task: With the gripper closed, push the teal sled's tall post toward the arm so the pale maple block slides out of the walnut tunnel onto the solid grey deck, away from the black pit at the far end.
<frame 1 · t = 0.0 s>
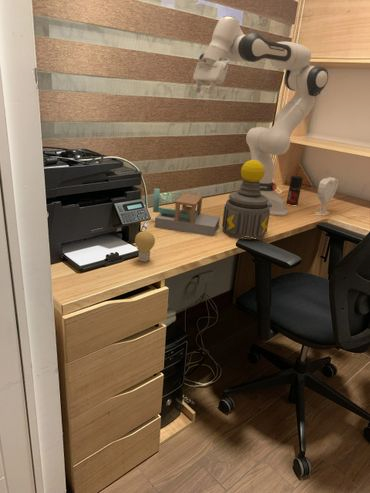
hand: (202, 93, 156), 52 cm above the table, tool tilted 20°, fingers open, 8 cm apart
tunnel deck: (187, 226, 159), on the table
toy power generator: (243, 233, 158), on the table
deodorant: (291, 204, 205), on the table
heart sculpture: (322, 213, 194), on the table
light bulb: (144, 260, 125), on the table
sled: (175, 203, 157), point 9 cm above the table, slide at 0.0 cm
maple block: (187, 217, 158), point 4 cm above the table, touching tunnel deck
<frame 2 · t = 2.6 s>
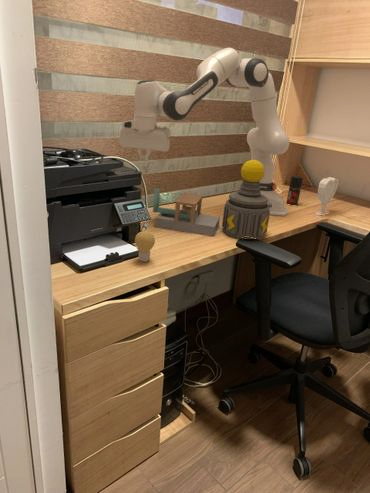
hand: (143, 160, 153), 25 cm above the table, tool pointing down, fingers closed
nothing on the table moved.
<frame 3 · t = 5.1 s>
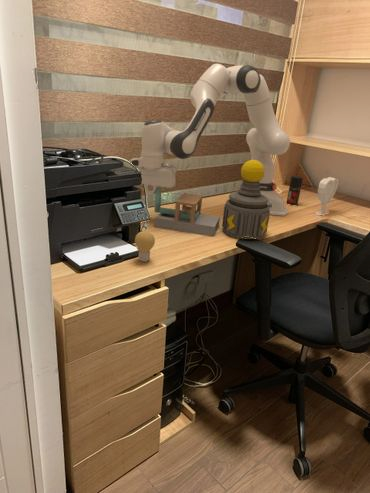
hand: (150, 195, 158), 11 cm above the table, tool pointing down, fingers closed
sled: (176, 203, 157), point 9 cm above the table, slide at 0.7 cm, touching gripper
everything else where it was.
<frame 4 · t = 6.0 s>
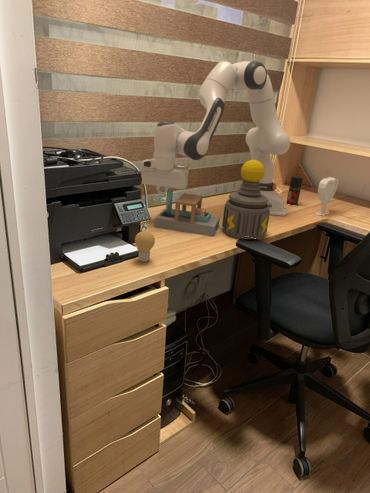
hand: (162, 196, 157), 11 cm above the table, tool pointing down, fingers closed
sled: (188, 205, 156), point 9 cm above the table, slide at 5.6 cm, touching gripper
maple block: (199, 218, 157), point 4 cm above the table
everything else where it was.
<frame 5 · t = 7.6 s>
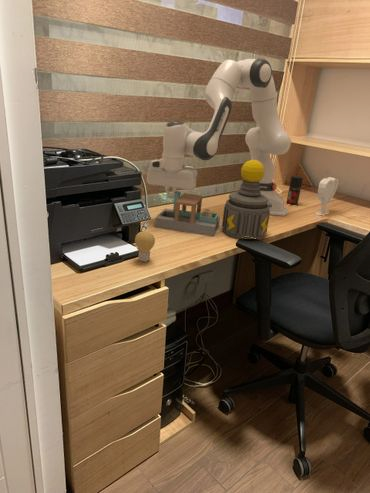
hand: (170, 197, 156), 11 cm above the table, tool pointing down, fingers closed
sled: (195, 206, 155), point 9 cm above the table, slide at 8.8 cm, touching gripper, tunnel deck
maple block: (206, 219, 156), point 4 cm above the table, touching tunnel deck
everything else where it was.
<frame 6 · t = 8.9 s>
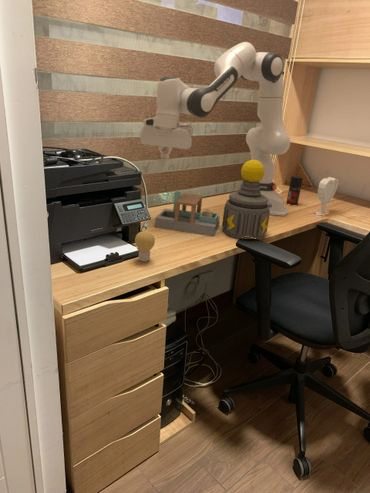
hand: (164, 158, 151), 27 cm above the table, tool pointing down, fingers closed
sled: (195, 206, 155), point 9 cm above the table, slide at 8.8 cm, touching tunnel deck
everything else where it was.
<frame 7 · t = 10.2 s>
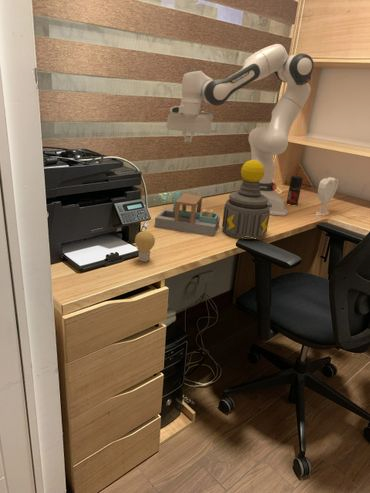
hand: (187, 141, 173), 31 cm above the table, tool pointing down, fingers closed
nothing on the table moved.
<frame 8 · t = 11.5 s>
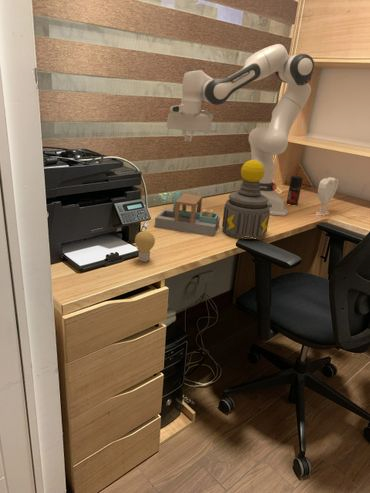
hand: (187, 141, 173), 31 cm above the table, tool pointing down, fingers closed
nothing on the table moved.
at the end: sled slide at 8.8 cm; maple block inside the target area (1.6 cm from its centre), point 4.0 cm above the table; maple block tilted 0° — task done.
